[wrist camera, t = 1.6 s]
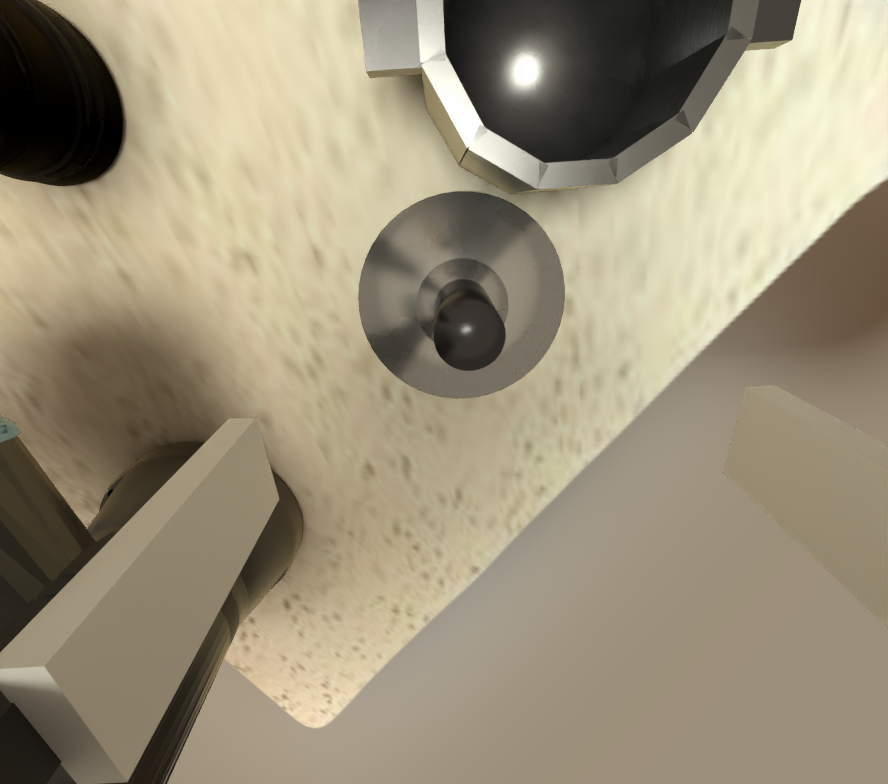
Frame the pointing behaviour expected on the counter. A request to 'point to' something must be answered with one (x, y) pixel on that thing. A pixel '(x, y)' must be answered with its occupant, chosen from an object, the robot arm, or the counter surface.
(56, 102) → the container
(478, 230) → the lid
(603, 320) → the counter surface
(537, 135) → the pot
